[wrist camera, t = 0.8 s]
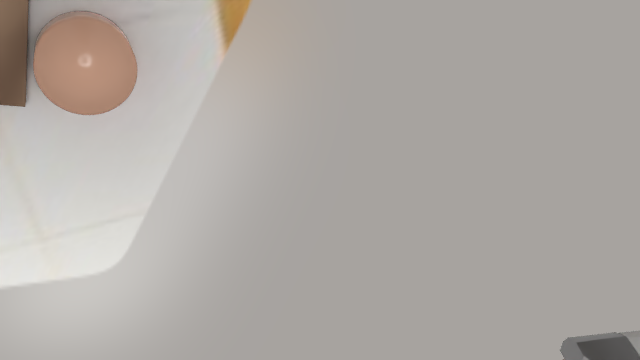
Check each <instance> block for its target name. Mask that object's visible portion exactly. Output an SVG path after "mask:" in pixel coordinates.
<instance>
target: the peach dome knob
mask: <svg viewBox="0 0 640 360" xmlns="http://www.w3.org/2000/svg"><path fill="white" fill-rule="evenodd" d="M33 67H34V74H35V78H36V81H37V83H38V85H39V87H40V89H41V90H42V92H43V93H44V95H45V96H46V97H47V98H48V99H49V100H50V101H51V102H53V103H54V104H55V105H57V106H58V107H60V108H62V109H64V110H66V111H69V112H72V113H76V114H82V115H95V114H101V113H105V112H108V111H110V110H112V109H114V108H116V107H117V106H119V105H120V104H122V103H123V102H124V101H125V100H126V99H127V98H128V96H129V95H130V93H131V92H132V90H133V88H134V86H135V83H136V78H137V63H136V59H135V56H134V53H133V51H132V48H131V46H130V44H129V41H128V39H127V38H126V36H125V34H124V33H123V32H122V30H121V29H120V28H119V27H118V26H117V25H116V24H115V23H113V22H112V21H111V20H109V19H107V18H106V17H104V16H102V15H99V14H96V13H92V12H87V11H74V12H68V13H65V14H62V15H59V16H57V17H55V18H54V19H52V20H51V21H50V22H49V23H47V24H46V25H45V27H44V28H43V29H42V30H41V32H40V34H39V36H38V38H37V41H36V45H35V53H34V62H33Z"/></svg>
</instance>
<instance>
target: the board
mask: <svg viewBox="0 0 640 360" xmlns="http://www.w3.org/2000/svg"><path fill="white" fill-rule="evenodd" d="M28 5H29V0H0V105H10V106H22V107H25V103H26V75H27V40H28Z"/></svg>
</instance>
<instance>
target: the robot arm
mask: <svg viewBox="0 0 640 360" xmlns="http://www.w3.org/2000/svg"><path fill="white" fill-rule="evenodd" d="M560 351H561V353H562V355H563V357H564V359H563V360H640V331H632V332H622V333H616V332H614V333H606V334H597V335H589V336H579V337H570V338H567V339H566V340H565V341H563V343H562V346H561V350H560Z"/></svg>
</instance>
